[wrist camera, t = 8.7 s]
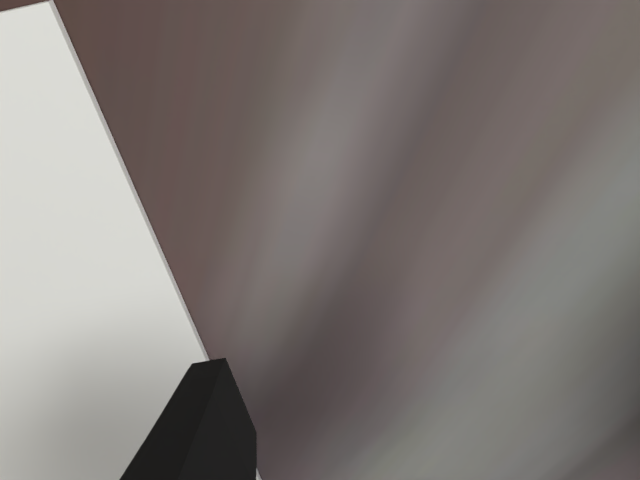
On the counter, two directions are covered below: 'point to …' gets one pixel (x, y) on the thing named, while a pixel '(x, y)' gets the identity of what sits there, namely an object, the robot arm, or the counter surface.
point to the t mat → (75, 274)
